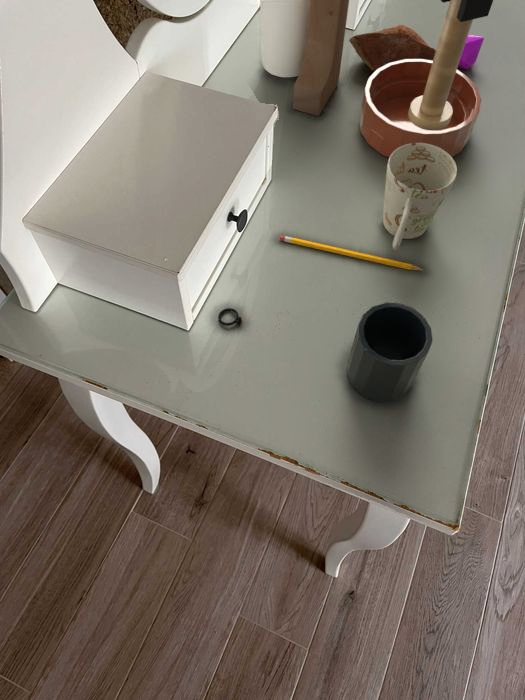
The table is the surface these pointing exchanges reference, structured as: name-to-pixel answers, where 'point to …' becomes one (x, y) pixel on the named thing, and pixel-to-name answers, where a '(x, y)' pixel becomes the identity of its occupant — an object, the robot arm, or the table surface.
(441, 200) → the mug
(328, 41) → the wooden block
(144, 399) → the table surface
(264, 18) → the cup
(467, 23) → the stirring stick
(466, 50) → the crystal
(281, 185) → the table surface
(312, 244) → the pencil
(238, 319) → the ring
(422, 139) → the bowl
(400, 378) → the utensil pot
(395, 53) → the fossil
